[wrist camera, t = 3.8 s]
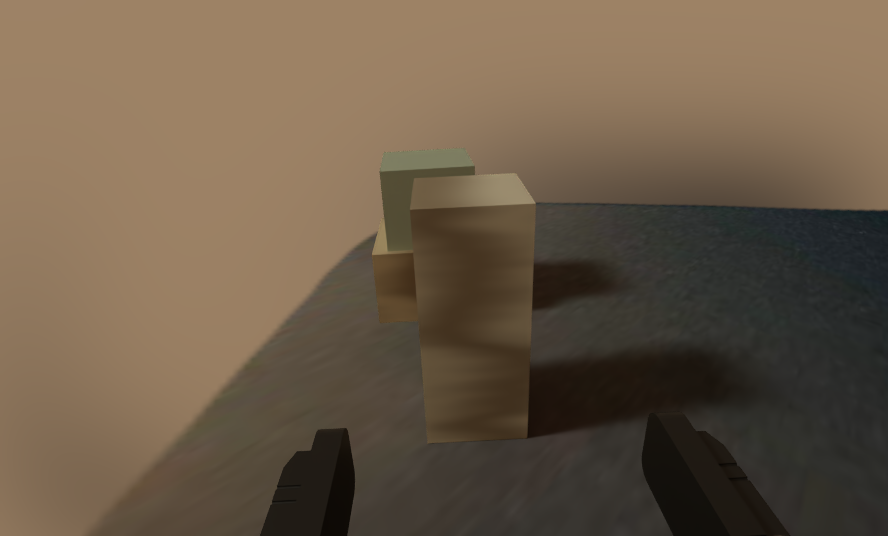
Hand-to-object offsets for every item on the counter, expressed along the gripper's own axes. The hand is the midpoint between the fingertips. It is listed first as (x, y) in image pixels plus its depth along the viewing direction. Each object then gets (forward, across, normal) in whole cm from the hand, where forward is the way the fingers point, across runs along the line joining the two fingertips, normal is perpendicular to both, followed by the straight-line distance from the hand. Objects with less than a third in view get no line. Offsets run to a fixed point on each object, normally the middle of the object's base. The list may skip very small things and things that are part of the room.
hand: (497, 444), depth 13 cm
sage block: (+21, +2, +2) cm, 21 cm away
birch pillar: (+9, 0, +7) cm, 11 cm away
